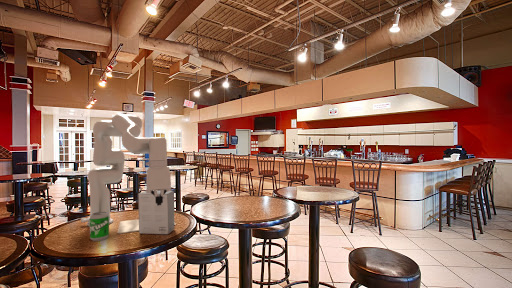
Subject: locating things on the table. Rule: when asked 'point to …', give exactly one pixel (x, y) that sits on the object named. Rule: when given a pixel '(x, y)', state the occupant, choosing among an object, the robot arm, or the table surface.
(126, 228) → the board
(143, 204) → the hard drive box
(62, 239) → the table surface
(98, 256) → the table surface
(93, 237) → the soda can
